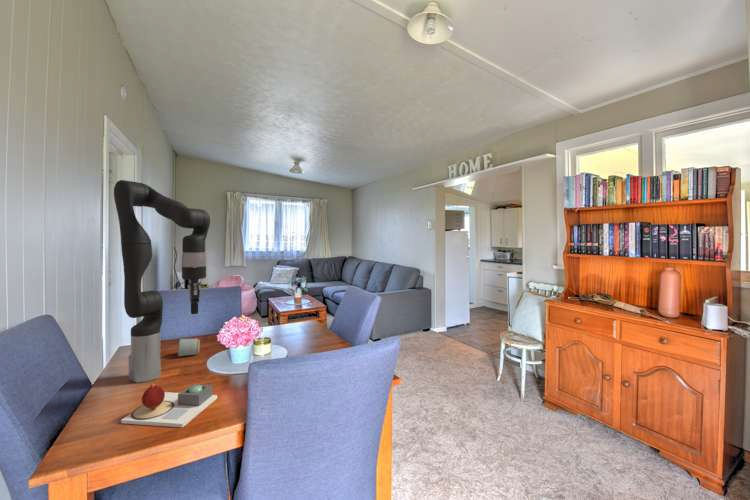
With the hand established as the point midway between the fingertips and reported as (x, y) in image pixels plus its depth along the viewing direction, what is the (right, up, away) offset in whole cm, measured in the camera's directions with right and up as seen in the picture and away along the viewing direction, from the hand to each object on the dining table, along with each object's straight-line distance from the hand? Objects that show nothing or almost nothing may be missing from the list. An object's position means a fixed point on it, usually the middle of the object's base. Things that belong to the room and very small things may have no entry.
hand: (194, 313), depth 114 cm
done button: (+6, -25, -10) cm, 27 cm away
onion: (-4, -27, -16) cm, 31 cm away
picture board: (+1, -27, -14) cm, 31 cm away
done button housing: (+6, -27, -10) cm, 30 cm away
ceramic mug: (-22, -26, +35) cm, 49 cm away
